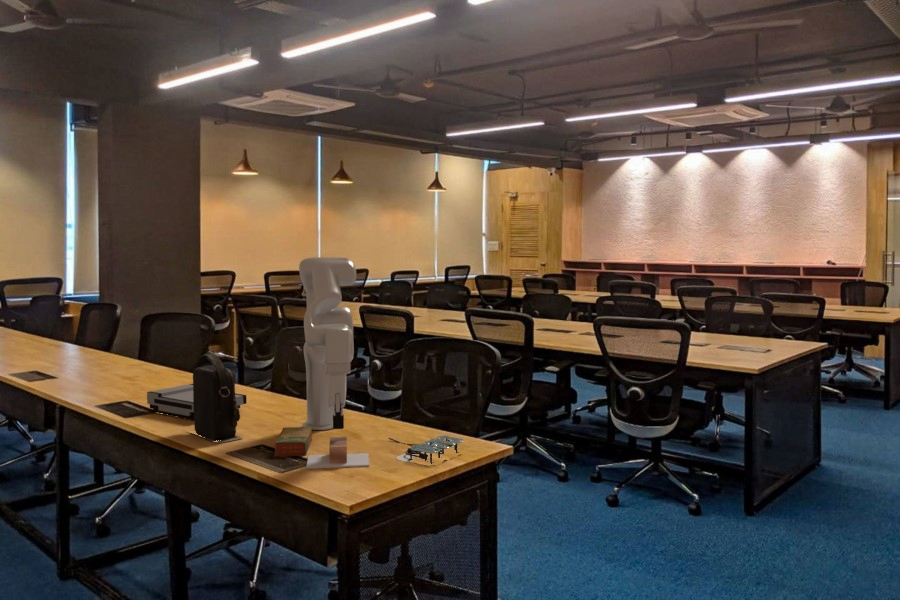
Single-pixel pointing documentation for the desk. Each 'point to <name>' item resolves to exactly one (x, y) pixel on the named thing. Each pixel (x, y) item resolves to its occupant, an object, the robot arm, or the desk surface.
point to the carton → (293, 441)
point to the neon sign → (429, 448)
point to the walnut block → (338, 450)
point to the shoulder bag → (214, 400)
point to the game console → (179, 401)
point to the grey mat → (352, 461)
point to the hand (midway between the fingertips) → (338, 428)
